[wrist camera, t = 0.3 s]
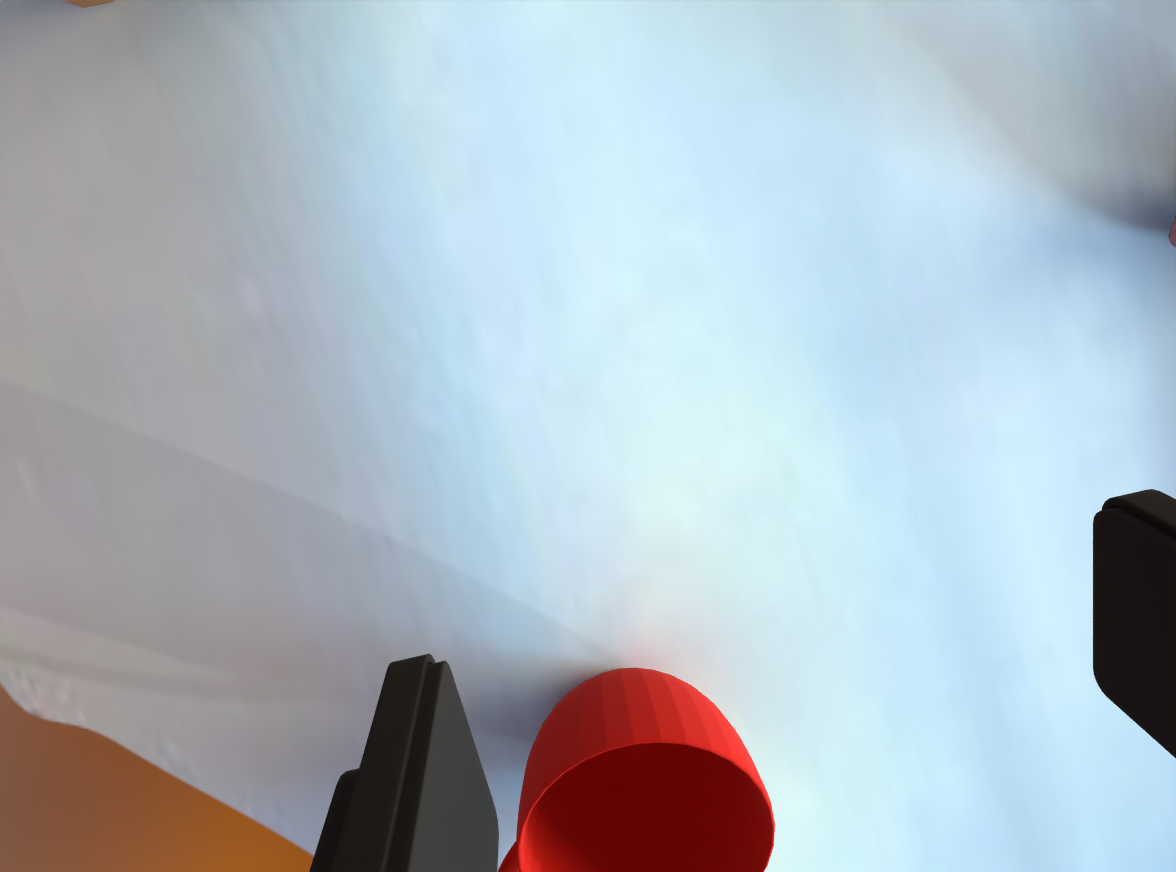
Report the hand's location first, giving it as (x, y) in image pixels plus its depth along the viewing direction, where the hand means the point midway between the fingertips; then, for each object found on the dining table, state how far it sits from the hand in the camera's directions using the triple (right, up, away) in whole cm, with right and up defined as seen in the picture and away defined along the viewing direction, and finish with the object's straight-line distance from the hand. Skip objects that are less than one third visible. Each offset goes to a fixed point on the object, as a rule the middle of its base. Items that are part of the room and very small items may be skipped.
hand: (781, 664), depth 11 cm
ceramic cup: (-2, -15, +37) cm, 40 cm away
